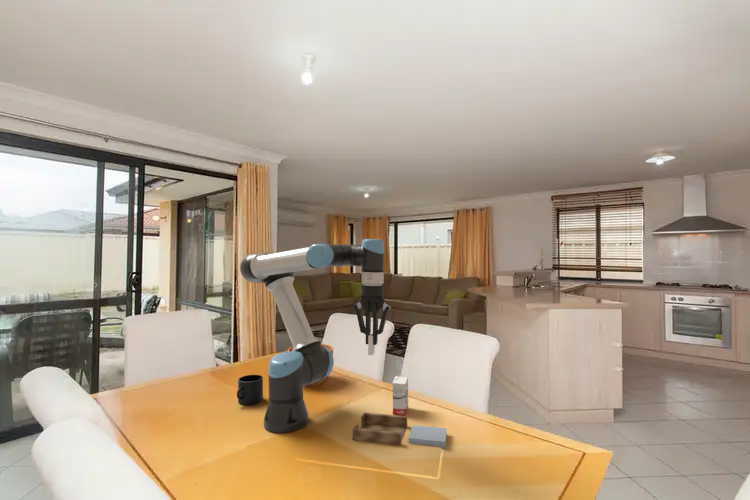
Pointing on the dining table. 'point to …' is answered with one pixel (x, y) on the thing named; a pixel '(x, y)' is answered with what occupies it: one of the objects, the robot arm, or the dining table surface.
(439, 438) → the tile
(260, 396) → the mug
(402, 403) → the ink box
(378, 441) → the box
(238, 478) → the dining table surface
